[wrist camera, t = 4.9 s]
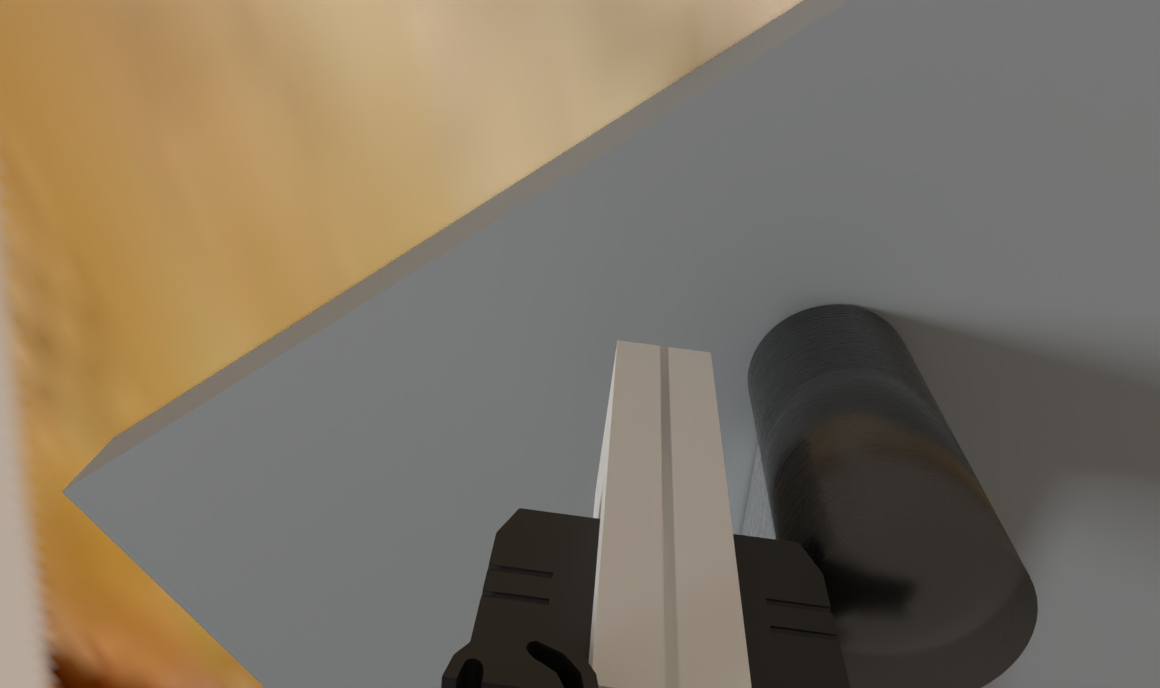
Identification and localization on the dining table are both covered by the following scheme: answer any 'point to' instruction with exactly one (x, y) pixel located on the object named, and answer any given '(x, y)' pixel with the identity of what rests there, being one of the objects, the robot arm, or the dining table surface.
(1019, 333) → the stand
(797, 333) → the cam lever
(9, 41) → the dining table surface
